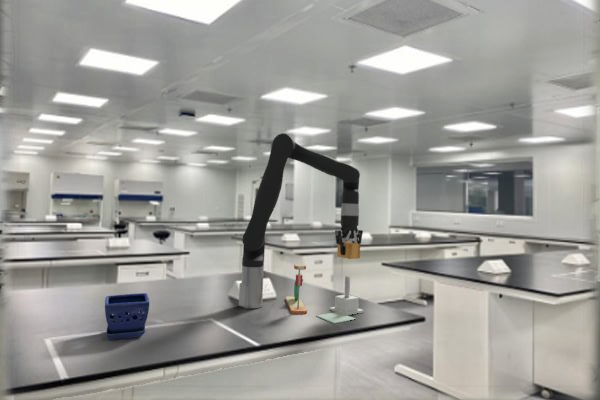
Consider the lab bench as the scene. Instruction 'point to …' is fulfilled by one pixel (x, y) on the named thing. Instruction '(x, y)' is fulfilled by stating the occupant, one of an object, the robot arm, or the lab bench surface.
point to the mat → (335, 317)
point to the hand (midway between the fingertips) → (348, 254)
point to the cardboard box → (350, 251)
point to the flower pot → (126, 315)
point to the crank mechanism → (296, 294)
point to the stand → (346, 301)
